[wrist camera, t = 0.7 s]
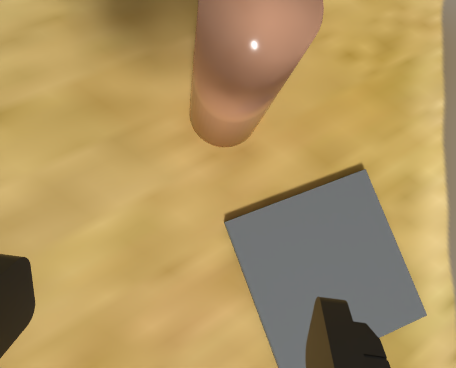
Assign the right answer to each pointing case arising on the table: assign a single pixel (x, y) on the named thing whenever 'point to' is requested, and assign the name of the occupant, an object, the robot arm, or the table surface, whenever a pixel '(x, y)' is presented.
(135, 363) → the table surface
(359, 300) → the rubber mat
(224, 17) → the terracotta canister
